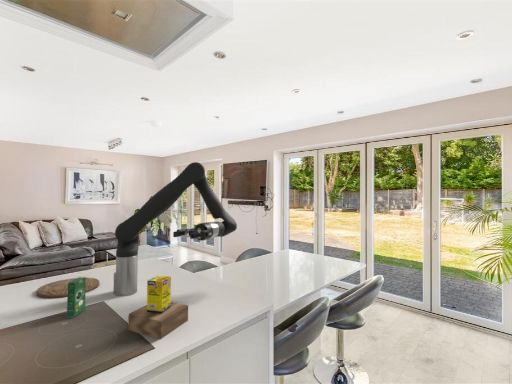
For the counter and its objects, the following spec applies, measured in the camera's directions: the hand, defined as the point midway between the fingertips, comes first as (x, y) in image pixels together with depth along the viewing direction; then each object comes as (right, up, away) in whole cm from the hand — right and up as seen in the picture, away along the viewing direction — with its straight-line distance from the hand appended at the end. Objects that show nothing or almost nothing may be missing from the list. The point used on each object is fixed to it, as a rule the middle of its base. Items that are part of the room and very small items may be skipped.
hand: (182, 235), depth 106 cm
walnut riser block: (-5, -30, -11) cm, 33 cm away
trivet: (-61, -30, +25) cm, 73 cm away
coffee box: (-40, -30, -2) cm, 50 cm away
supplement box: (-5, -24, -11) cm, 27 cm away
